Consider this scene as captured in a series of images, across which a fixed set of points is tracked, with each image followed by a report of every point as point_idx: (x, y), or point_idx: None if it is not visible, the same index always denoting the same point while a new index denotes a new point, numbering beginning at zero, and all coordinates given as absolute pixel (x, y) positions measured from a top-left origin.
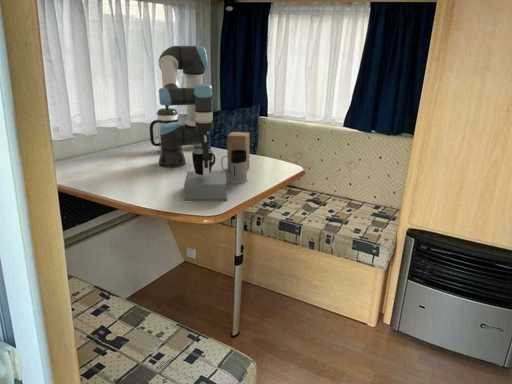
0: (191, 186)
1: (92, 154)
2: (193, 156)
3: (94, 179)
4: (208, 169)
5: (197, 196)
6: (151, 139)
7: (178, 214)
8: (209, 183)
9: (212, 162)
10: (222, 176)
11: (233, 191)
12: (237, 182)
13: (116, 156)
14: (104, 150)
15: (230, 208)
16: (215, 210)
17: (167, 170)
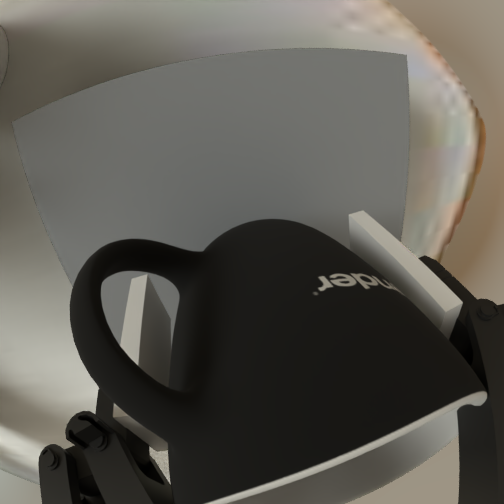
0: None
1: (37, 481)
2: (371, 453)
3: (165, 474)
4: (391, 242)
5: None
6: None
7: (449, 242)
8: (392, 178)
9: (122, 270)
10: (193, 90)
11: (170, 26)
12: (5, 57)
13: (16, 464)
14: (8, 471)
15: (431, 52)
16: (446, 116)
17: (8, 397)
